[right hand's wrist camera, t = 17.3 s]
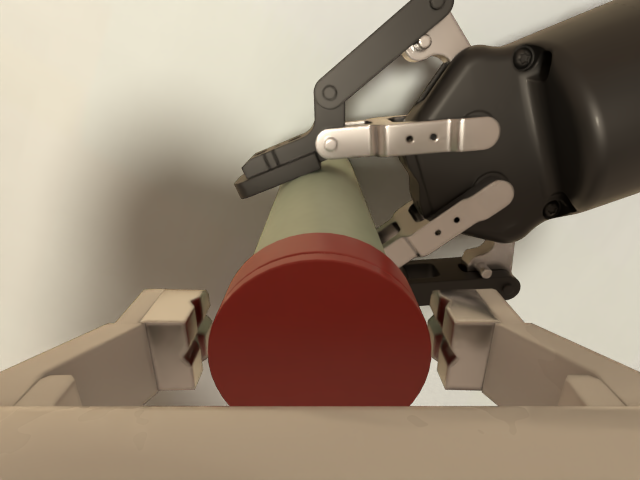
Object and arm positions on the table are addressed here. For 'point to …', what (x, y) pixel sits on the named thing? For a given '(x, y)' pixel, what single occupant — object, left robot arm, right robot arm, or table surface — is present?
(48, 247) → the table surface
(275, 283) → the lid
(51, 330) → the table surface
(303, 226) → the olive green cylinder
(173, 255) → the table surface
